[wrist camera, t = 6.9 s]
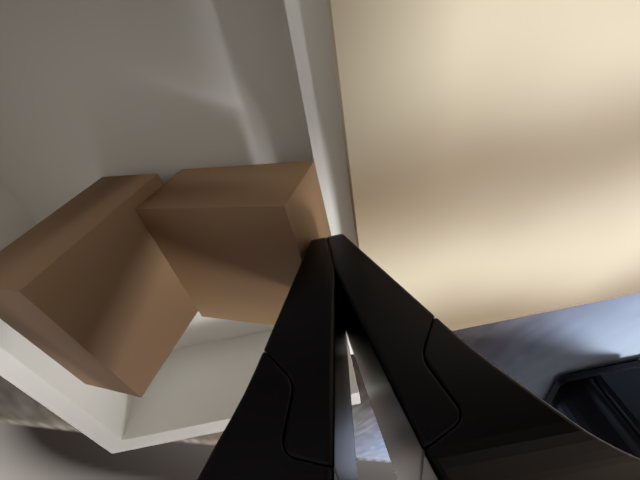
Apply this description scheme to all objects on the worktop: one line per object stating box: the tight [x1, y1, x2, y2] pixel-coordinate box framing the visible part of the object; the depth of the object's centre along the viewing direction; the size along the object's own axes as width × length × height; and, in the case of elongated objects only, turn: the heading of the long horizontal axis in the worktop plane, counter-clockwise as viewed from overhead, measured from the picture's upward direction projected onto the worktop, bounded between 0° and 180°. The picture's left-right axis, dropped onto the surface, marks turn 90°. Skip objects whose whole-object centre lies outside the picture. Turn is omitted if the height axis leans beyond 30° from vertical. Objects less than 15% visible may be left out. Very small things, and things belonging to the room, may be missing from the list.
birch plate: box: [327, 0, 640, 331], centre depth 10 cm, size 12×13×2 cm
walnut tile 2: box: [135, 161, 331, 325], centre depth 9 cm, size 4×4×2 cm
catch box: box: [0, 0, 361, 453], centre depth 10 cm, size 14×10×4 cm
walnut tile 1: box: [0, 174, 198, 397], centre depth 9 cm, size 4×4×2 cm
